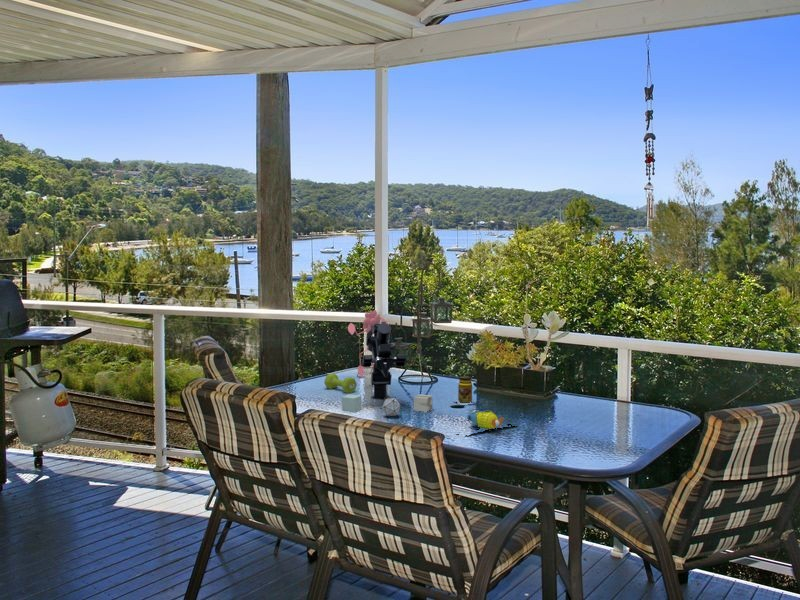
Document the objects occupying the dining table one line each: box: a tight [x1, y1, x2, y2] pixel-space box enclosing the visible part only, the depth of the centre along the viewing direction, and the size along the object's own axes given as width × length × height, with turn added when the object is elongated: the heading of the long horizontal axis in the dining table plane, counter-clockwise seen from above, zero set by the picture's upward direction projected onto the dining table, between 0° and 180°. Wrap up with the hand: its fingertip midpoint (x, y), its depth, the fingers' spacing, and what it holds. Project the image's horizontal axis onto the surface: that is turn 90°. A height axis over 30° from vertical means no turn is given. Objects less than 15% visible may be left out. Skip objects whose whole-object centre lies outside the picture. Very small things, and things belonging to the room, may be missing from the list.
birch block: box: [413, 394, 433, 413], centre depth 321 cm, size 6×6×6 cm
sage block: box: [341, 393, 362, 413], centre depth 320 cm, size 6×6×6 cm
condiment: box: [457, 375, 473, 403], centre depth 334 cm, size 7×8×12 cm
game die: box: [379, 396, 404, 419], centre depth 310 cm, size 9×8×10 cm
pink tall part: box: [347, 309, 390, 378], centre depth 389 cm, size 15×26×35 cm, turn 134°
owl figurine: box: [466, 408, 505, 430], centre depth 290 cm, size 28×9×15 cm
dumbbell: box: [323, 373, 358, 394], centre depth 358 cm, size 16×8×7 cm, turn 46°
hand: (386, 376), depth 323 cm, fingers closed
